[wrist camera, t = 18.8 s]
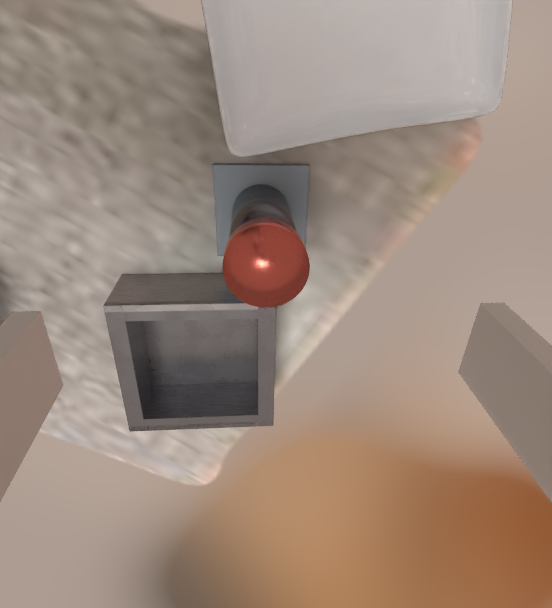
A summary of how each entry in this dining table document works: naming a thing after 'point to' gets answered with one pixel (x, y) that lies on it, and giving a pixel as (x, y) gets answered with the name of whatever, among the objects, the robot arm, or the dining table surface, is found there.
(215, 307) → the shallow square tray
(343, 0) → the salad plate
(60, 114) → the dining table surface
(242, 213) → the jar with red lid
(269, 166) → the mat
